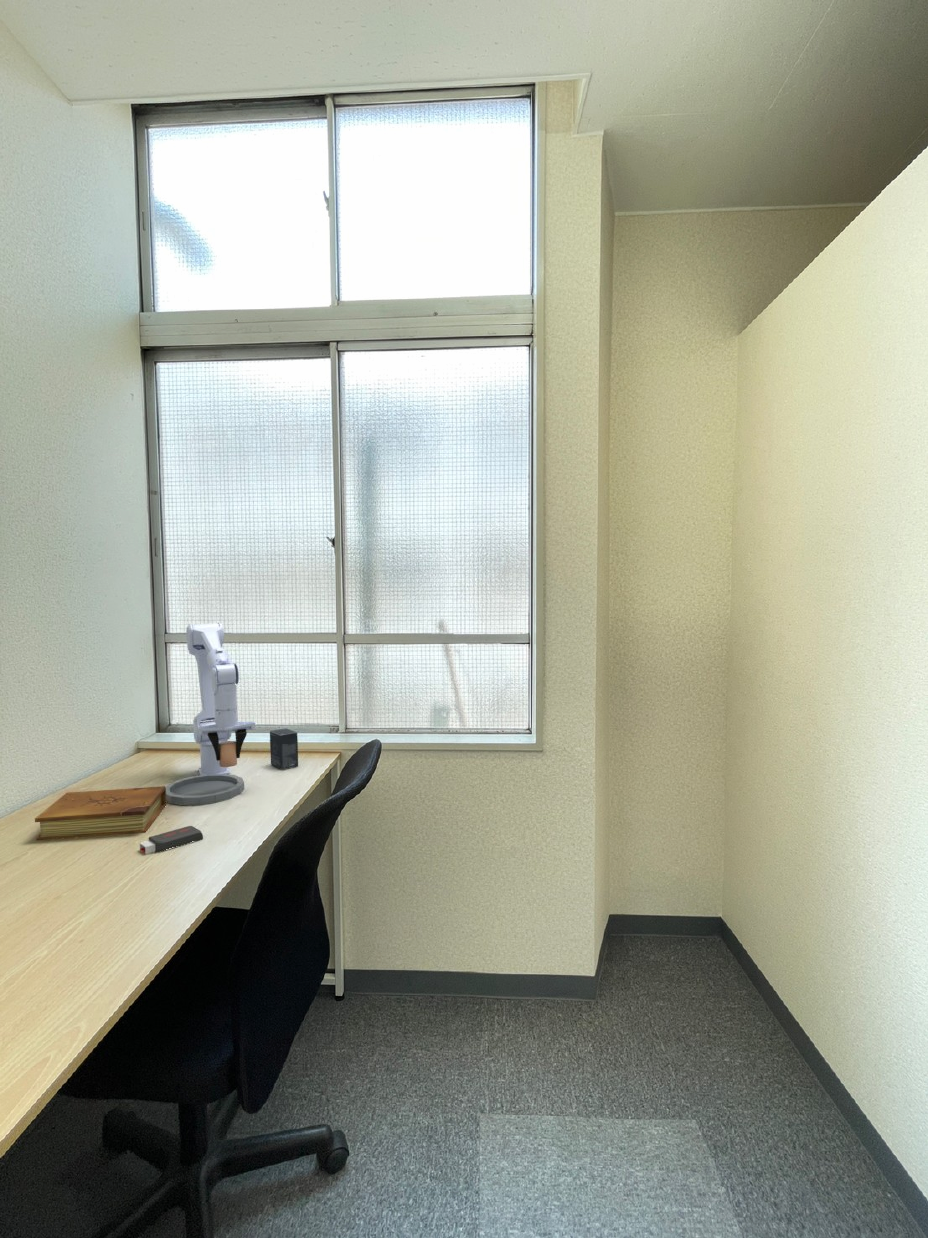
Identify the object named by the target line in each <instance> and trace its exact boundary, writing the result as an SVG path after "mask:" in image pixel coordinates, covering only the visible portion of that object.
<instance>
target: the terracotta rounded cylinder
mask: <svg viewBox="0 0 928 1238" xmlns="http://www.w3.org/2000/svg"><path fill="white" fill-rule="evenodd" d="M219 755H220V760H219V763H220V767H228V768H231V767H235V766H237V765H238V758H237V747H236V740H227V741H224V742H220V743H219Z"/></svg>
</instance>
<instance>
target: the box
mask: <svg viewBox="0 0 928 1238" xmlns="http://www.w3.org/2000/svg"><path fill="white" fill-rule="evenodd" d="M298 740H299V739H298V732H297V731H294V730H292V729H289V728H280V729H273V730H270V731H269V743H270V744H269V747H270V765H271V764H272V766H274V767H276V768H277V769H280V770H286V769H293V768H296V767H295V766H298V767H299V743H298V742H299V741H298Z"/></svg>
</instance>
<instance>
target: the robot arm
mask: <svg viewBox="0 0 928 1238" xmlns="http://www.w3.org/2000/svg"><path fill="white" fill-rule="evenodd" d="M185 631H186V635H185V637H186V645H187V650H188V654H190V655H191V656H194V658H195V661H196V665H197V674H198V683H199V693H200V700H201V701H200V702H201V709H202V710H201V711H200V712H199V713H198V714H197V715H196V716H194V719H193V728H192V730H193V733H192V734H193V739H194V742H195V743H196V744H198V745H199V753H200V767H198V772H199V775H207V774H229V775H231V773H230V769H229V767H220V763H219V760H220V755H219V743H220V742H224V741H230V740H231V738H232V733H233V732H234V733H235V741H236V747H237V759H241V757H240V756H241V751H242V747H243V744H244V742H245V739H246V737H247V734H248V732H247V731H249V730H252V731H255V730H256V722H255V721H239V720H238V696H237V685H238V684H239V681H240V674H239V667H238V664H237V662H235V661H233V662H232V660H231V658H230V655H229V653H228V651H227V650H226V649H224V648H222V647H223V644H224V640H225V628H224V625H223V624H222V623H221V622H217V623H200V624H199V623H198V624H191V623H190V624H188V625H187V626H186V630H185Z"/></svg>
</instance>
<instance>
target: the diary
mask: <svg viewBox="0 0 928 1238" xmlns="http://www.w3.org/2000/svg"><path fill="white" fill-rule="evenodd" d="M165 787H166V786H165V785H164V786H163V785H162V786H150V787H149V786H148V787H135V788H133V787H132V788H118V789H104V790H103V789H102V790H86V791H69V792H65V793H64V794H63V795H62V796H61V797H59V798H57V800H56V801H54V802H53V803H51V804H50V806H48V807H47V808H46V809H44V811H42V812H40V814H39V815H37V816H36V817H34V822H35V823H39V829H40V831H39V833H40V835H38V836H37V837H36V839H35V840H36V841H37V842H38V841H49V840H50V841H51V840H61V839H62V838H64V839H74V838H75V837H78V838H89V837H88V836H92V837H102V836H118V835H132V834H144V833H145V834H146V833H147V832H148V830H149V829H150V827H151V826H152V825H153V824H154V823H155V821H156V820H157V818H158V817H159V816H160V815H161V813H162V812H163V811H162V810H164V809H165V808H166V807H167V803H168V802H167V800H166V788H165ZM165 806H166V807H165ZM146 831H147V832H146ZM64 839H63V840H64ZM75 839H76V838H75Z"/></svg>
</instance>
